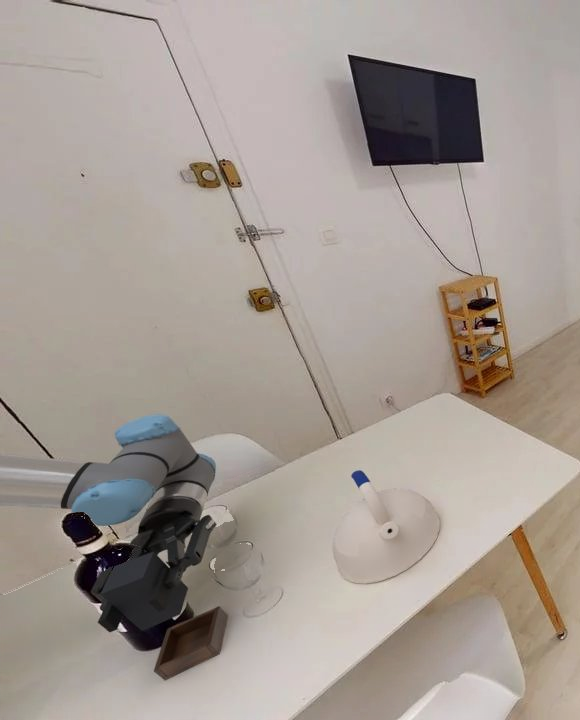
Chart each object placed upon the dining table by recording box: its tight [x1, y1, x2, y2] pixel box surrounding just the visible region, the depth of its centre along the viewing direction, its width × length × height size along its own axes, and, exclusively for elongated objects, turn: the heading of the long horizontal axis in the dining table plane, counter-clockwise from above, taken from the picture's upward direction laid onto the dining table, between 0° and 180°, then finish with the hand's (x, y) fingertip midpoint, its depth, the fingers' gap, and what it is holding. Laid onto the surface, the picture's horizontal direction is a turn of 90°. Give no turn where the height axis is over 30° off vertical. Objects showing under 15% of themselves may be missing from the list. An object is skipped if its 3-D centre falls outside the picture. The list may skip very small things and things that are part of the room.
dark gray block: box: [101, 552, 189, 632], centre depth 66 cm, size 4×6×10 cm
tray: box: [153, 605, 229, 681], centre depth 72 cm, size 7×8×3 cm
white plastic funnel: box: [331, 469, 441, 585], centre depth 86 cm, size 20×21×18 cm
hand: (132, 615), depth 61 cm, fingers closed on dark gray block, 4 cm apart
